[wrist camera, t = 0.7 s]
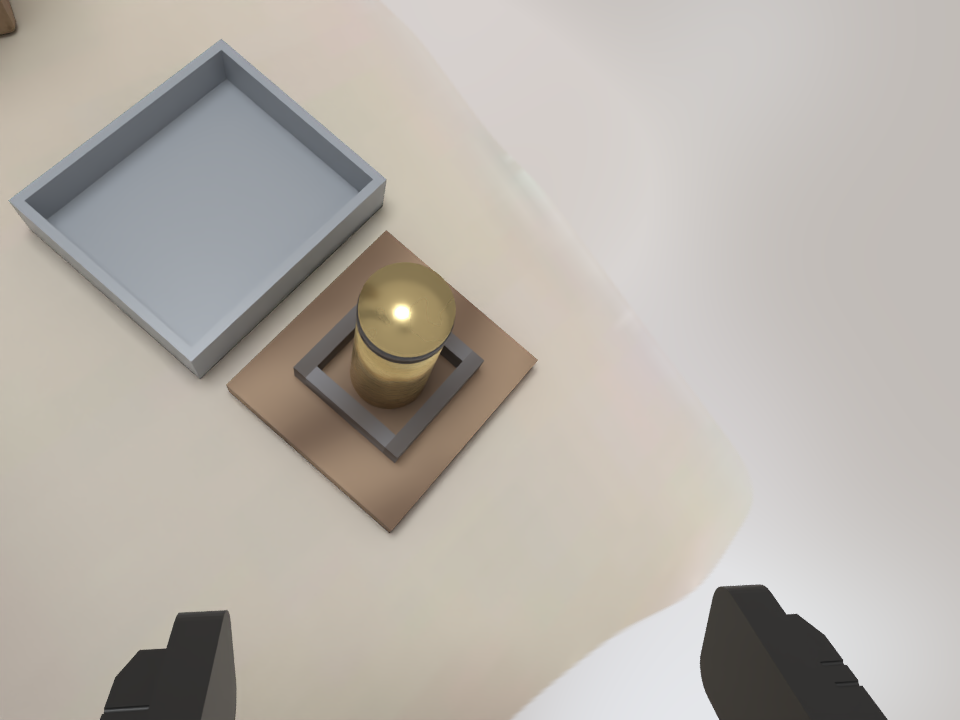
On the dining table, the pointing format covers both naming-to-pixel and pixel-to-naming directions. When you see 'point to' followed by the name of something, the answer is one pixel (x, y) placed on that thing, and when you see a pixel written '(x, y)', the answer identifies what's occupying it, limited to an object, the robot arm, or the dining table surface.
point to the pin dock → (365, 428)
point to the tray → (203, 205)
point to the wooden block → (6, 17)
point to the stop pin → (399, 333)
